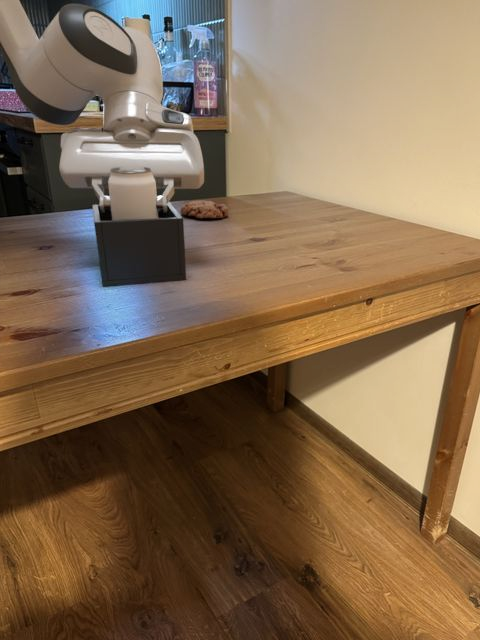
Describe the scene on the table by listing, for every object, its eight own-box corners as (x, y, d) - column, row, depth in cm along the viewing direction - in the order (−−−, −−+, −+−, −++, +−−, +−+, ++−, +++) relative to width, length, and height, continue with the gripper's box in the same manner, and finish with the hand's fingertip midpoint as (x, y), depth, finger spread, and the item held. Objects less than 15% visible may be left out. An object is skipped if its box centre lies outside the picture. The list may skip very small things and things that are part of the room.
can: (151, 246, 78) (145, 165, 72) (167, 257, 73) (162, 171, 68) (110, 251, 75) (100, 167, 69) (124, 263, 70) (115, 174, 64)
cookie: (185, 210, 113) (184, 196, 112) (231, 212, 113) (231, 198, 111) (175, 220, 104) (174, 205, 103) (225, 222, 104) (225, 207, 102)
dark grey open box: (102, 286, 68) (94, 222, 64) (99, 261, 78) (92, 204, 74) (186, 279, 72) (183, 218, 68) (173, 256, 81) (170, 201, 77)
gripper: (55, 112, 70) (51, 196, 66) (201, 115, 73) (206, 197, 69) (66, 143, 76) (63, 222, 72) (201, 145, 79) (205, 222, 75)
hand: (134, 210), depth 70 cm, fingers closed on can, 6 cm apart
